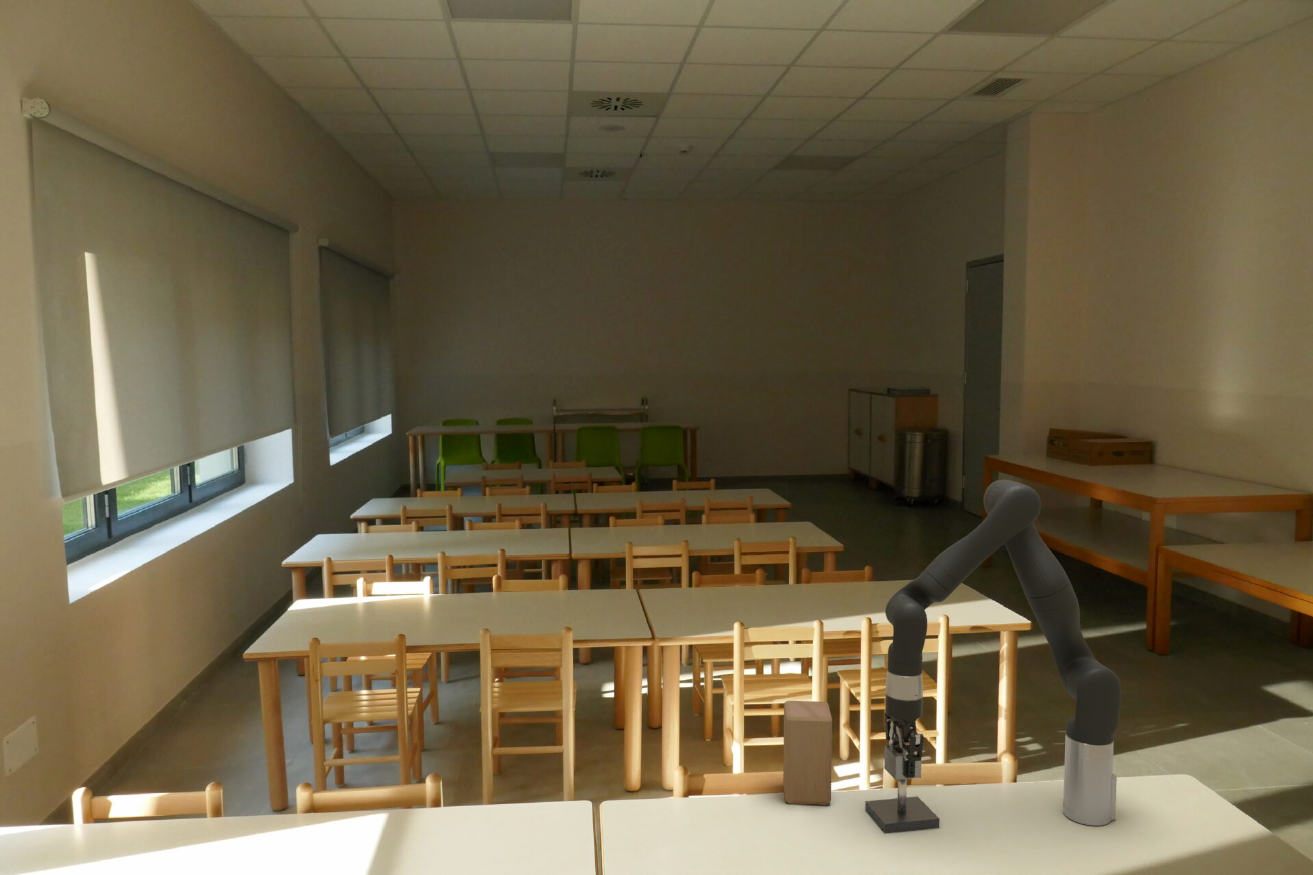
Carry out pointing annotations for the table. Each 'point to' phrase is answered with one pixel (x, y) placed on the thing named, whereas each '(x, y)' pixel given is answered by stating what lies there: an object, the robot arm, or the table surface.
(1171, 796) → the table surface
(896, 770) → the collar
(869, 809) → the shaft block
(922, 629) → the robot arm
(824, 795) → the wooden block
